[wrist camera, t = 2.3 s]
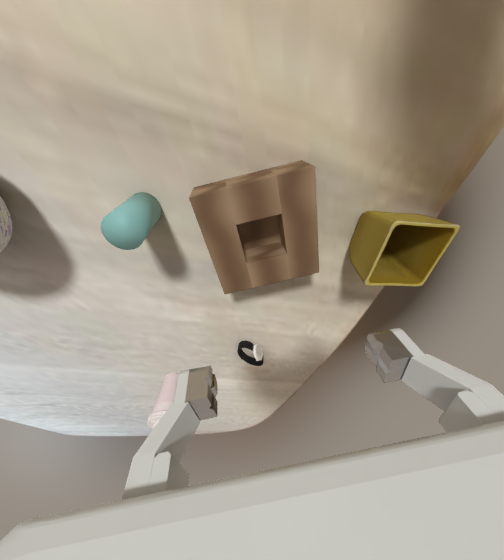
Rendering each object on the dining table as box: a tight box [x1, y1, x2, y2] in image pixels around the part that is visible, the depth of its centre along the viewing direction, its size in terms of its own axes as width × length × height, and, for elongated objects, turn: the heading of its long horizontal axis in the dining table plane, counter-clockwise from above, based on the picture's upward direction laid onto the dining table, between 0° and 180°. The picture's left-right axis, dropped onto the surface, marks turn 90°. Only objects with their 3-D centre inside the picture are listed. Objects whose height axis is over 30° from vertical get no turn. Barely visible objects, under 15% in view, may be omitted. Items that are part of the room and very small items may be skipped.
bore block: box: [189, 160, 319, 294], centre depth 30 cm, size 14×14×5 cm
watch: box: [238, 341, 263, 366], centre depth 47 cm, size 8×5×4 cm, turn 30°
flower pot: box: [349, 211, 460, 286], centre depth 31 cm, size 9×9×9 cm
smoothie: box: [147, 373, 179, 429], centre depth 45 cm, size 6×6×14 cm
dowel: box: [101, 192, 162, 250], centre depth 26 cm, size 4×4×8 cm
